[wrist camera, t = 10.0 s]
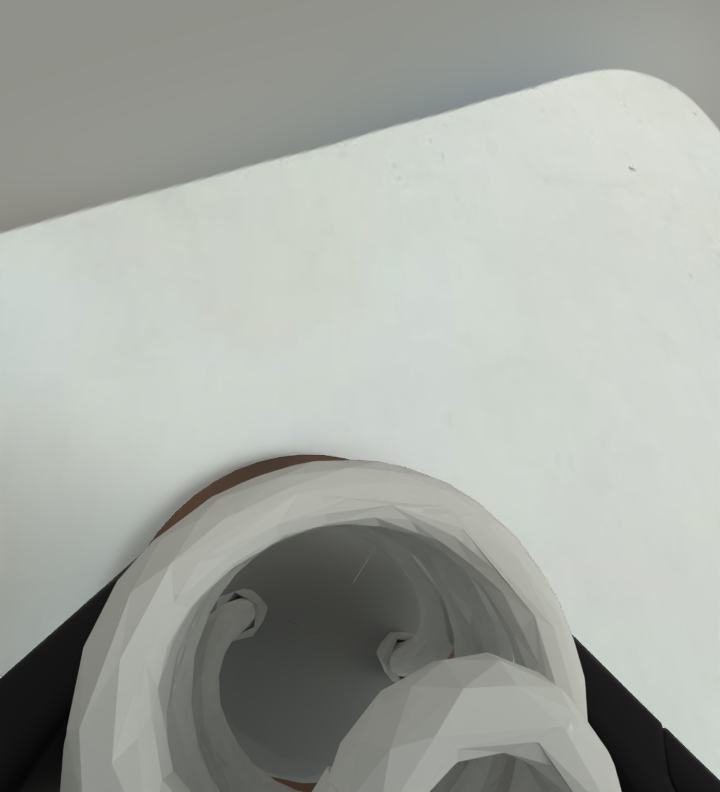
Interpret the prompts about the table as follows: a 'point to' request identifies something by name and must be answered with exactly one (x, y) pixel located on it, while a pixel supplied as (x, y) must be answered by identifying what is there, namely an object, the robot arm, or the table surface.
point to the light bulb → (333, 650)
